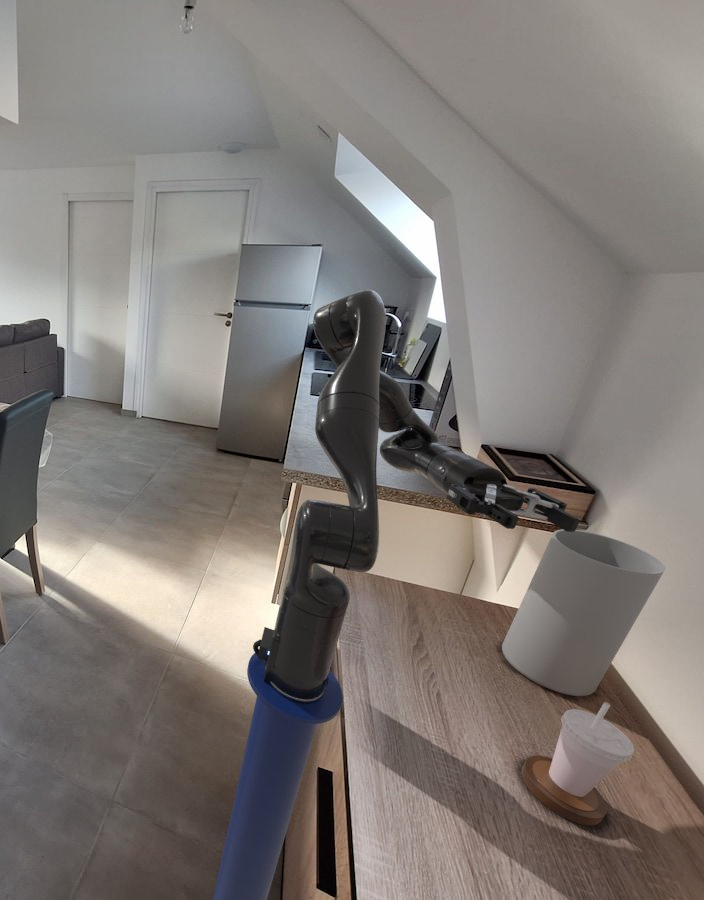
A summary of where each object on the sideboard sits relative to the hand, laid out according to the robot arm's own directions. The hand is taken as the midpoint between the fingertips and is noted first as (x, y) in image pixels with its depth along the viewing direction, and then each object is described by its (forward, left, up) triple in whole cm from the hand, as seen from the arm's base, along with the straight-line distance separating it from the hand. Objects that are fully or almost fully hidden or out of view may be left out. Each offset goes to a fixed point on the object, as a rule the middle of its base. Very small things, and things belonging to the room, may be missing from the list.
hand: (544, 524), depth 64 cm
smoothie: (+8, -14, -31) cm, 34 cm away
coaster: (+7, -14, -32) cm, 36 cm away
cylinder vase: (+13, +13, -32) cm, 37 cm away
